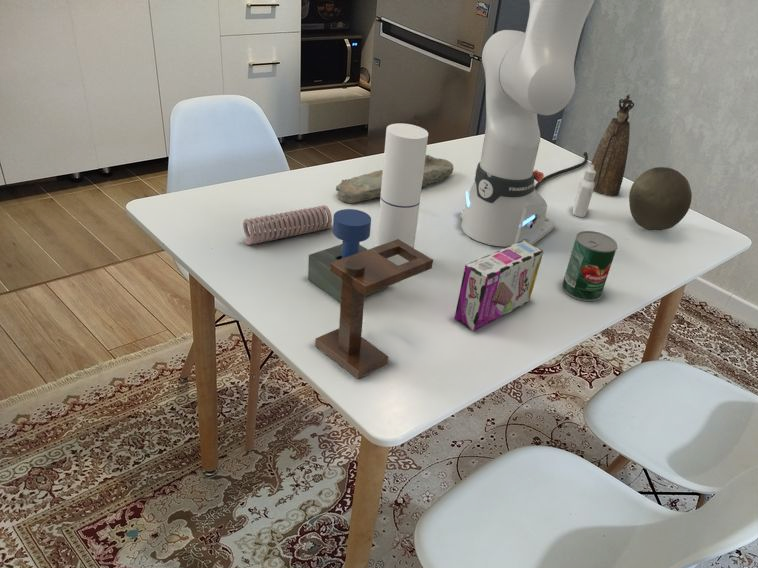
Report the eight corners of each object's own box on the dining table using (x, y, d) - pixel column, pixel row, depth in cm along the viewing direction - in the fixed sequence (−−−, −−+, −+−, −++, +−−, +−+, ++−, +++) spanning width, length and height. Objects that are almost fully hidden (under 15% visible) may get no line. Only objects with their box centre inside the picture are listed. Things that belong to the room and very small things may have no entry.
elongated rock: (324, 197, 146) (353, 217, 142) (324, 175, 142) (355, 195, 138) (433, 162, 168) (461, 178, 164) (436, 142, 164) (465, 158, 160)
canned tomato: (575, 275, 133) (589, 226, 126) (608, 292, 129) (625, 243, 123) (554, 288, 127) (568, 237, 121) (588, 306, 124) (604, 255, 117)
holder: (351, 264, 122) (353, 240, 119) (388, 287, 118) (390, 263, 115) (307, 279, 116) (308, 254, 113) (344, 305, 111) (346, 280, 108)
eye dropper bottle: (565, 211, 158) (578, 163, 151) (578, 206, 161) (591, 159, 154) (579, 218, 156) (593, 170, 149) (592, 213, 159) (606, 166, 152)
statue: (588, 193, 169) (616, 94, 155) (582, 181, 175) (609, 85, 161) (620, 197, 171) (651, 100, 156) (613, 185, 177) (642, 90, 162)
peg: (350, 271, 120) (354, 206, 113) (373, 286, 117) (378, 220, 110) (323, 281, 116) (325, 214, 109) (346, 297, 113) (350, 229, 106)
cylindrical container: (383, 270, 122) (396, 139, 108) (369, 251, 127) (380, 123, 112) (418, 266, 126) (435, 138, 111) (403, 248, 130) (418, 123, 116)
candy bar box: (487, 278, 104) (545, 249, 115) (464, 264, 106) (523, 237, 117) (474, 334, 111) (530, 302, 122) (452, 320, 113) (509, 289, 124)
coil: (250, 228, 118) (337, 212, 129) (238, 215, 120) (324, 200, 131) (249, 250, 121) (334, 232, 132) (238, 236, 123) (322, 220, 134)
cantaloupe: (620, 211, 163) (638, 153, 154) (676, 224, 162) (698, 166, 153) (619, 235, 152) (639, 173, 143) (679, 249, 151) (703, 188, 142)
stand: (384, 315, 111) (393, 228, 101) (426, 343, 106) (440, 256, 97) (314, 346, 101) (317, 253, 92) (357, 379, 96) (365, 285, 87)
